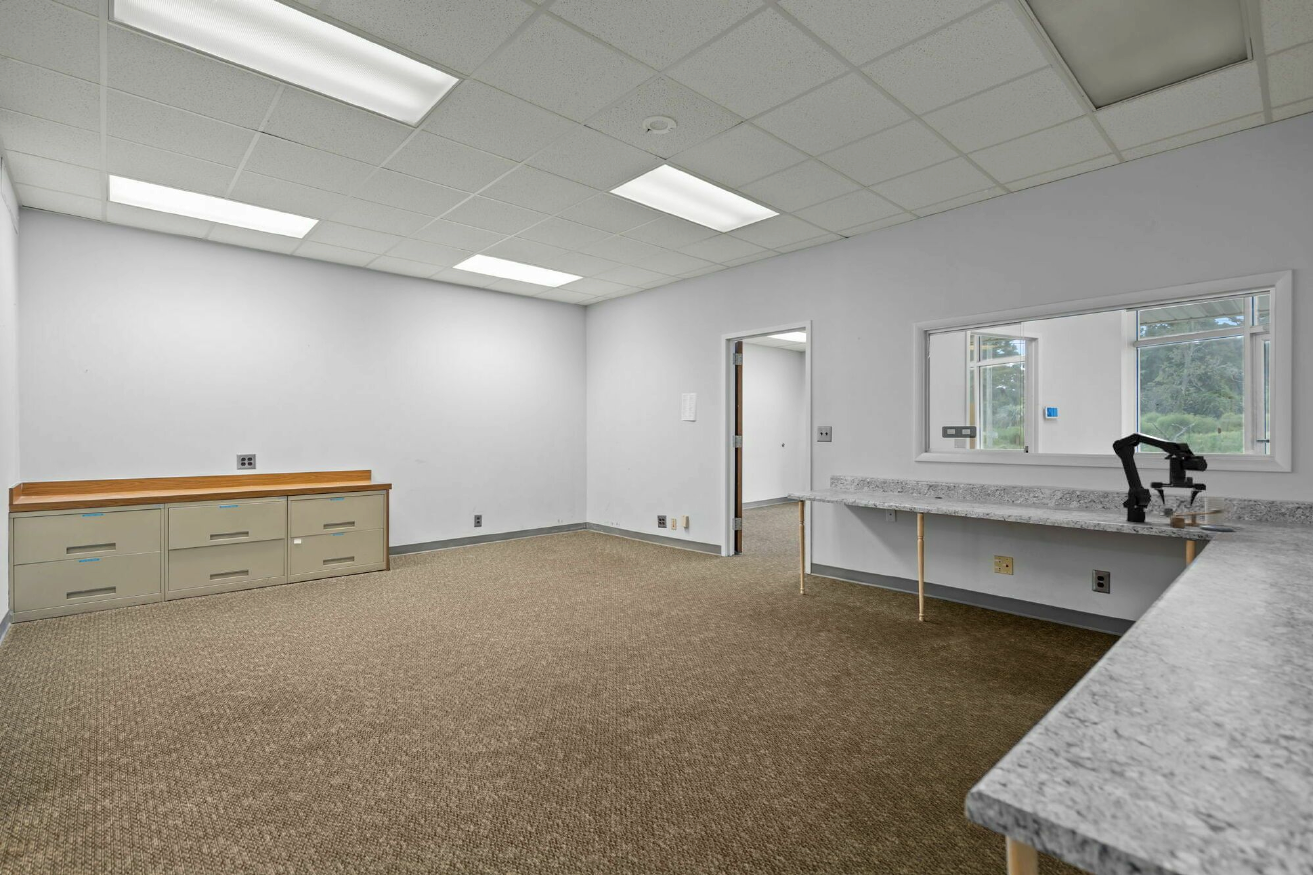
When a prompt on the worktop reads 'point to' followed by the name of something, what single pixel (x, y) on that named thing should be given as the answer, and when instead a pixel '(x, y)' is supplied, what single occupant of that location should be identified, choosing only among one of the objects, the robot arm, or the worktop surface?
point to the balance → (1169, 512)
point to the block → (1177, 522)
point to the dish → (1216, 528)
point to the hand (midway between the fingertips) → (1177, 505)
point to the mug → (1219, 517)
